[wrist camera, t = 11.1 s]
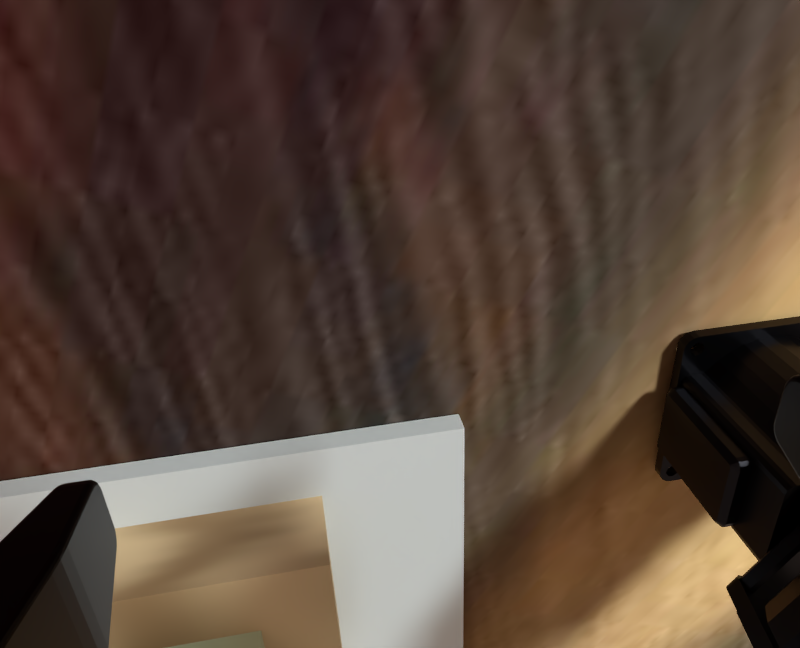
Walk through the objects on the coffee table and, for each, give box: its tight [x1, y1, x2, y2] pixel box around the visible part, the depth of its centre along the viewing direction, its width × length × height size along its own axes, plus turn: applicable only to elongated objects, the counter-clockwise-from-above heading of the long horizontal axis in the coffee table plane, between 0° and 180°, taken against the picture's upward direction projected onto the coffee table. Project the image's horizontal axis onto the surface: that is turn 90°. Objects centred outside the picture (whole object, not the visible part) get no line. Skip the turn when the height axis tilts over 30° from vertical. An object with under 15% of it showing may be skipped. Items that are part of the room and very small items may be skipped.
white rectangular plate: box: [0, 414, 464, 648], centre depth 26 cm, size 20×14×1 cm
